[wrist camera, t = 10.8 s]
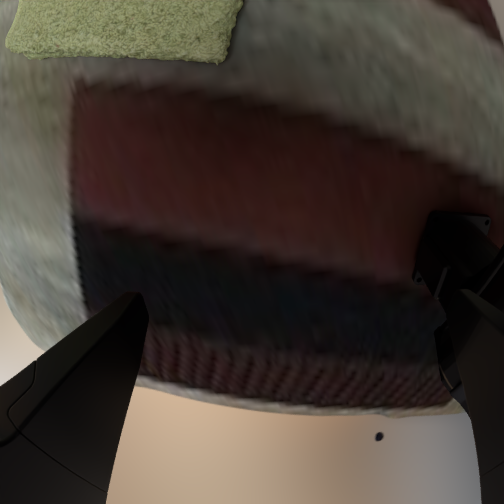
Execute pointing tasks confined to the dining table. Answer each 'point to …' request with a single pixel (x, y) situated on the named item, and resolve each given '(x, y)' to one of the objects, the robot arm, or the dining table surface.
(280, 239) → the dining table surface
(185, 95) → the dining table surface
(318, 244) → the dining table surface
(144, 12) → the washcloth
